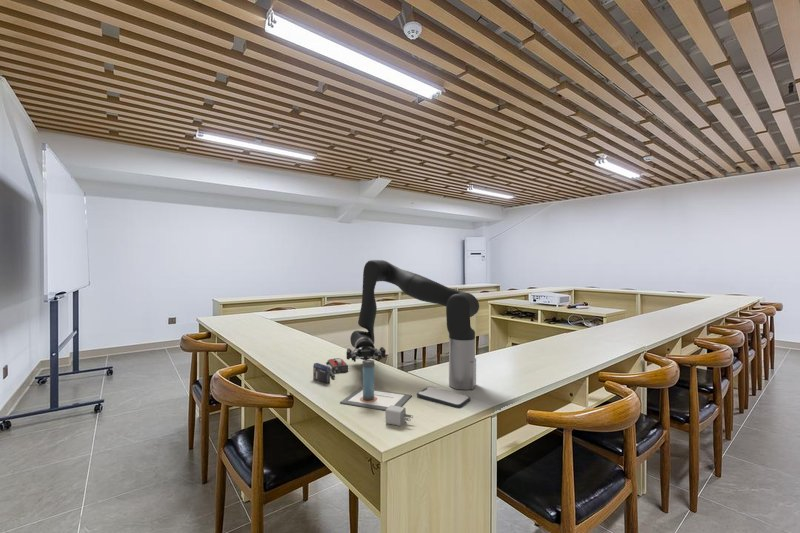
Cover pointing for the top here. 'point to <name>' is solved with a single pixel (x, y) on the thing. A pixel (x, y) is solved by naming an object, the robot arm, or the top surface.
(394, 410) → the usb wall charger
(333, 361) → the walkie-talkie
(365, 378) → the bottle
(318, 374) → the mini dv tape
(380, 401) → the grey picture frame
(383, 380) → the top surface
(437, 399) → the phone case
